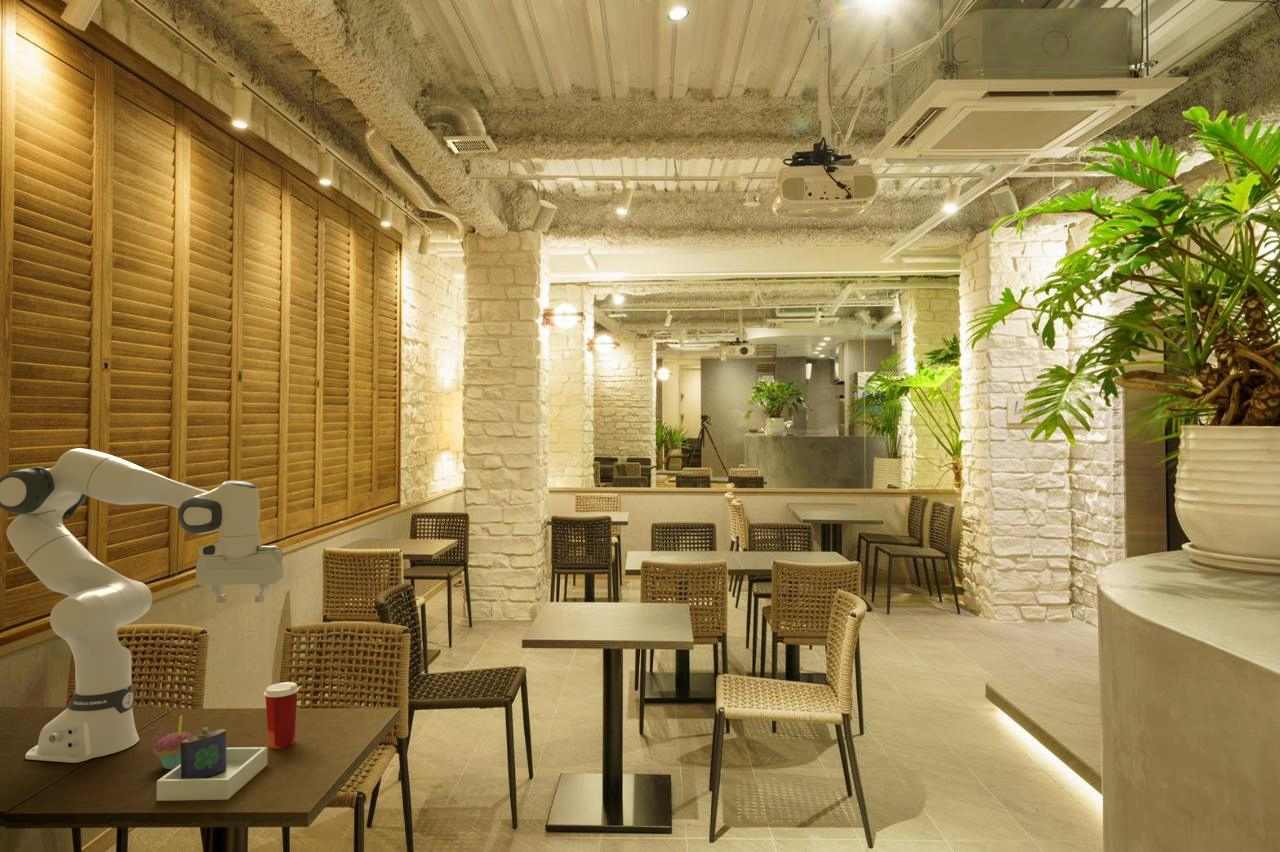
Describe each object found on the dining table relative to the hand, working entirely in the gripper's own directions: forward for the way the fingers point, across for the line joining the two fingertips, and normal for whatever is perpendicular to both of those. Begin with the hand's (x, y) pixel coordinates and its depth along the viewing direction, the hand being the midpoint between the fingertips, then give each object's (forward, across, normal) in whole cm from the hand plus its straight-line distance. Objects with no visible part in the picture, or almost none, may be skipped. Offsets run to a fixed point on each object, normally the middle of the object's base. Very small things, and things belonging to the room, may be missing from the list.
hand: (240, 602), depth 185 cm
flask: (+33, -4, +22) cm, 40 cm away
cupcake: (+34, +8, +13) cm, 38 cm away
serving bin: (+34, -6, +22) cm, 41 cm away
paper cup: (+34, -11, +2) cm, 36 cm away
